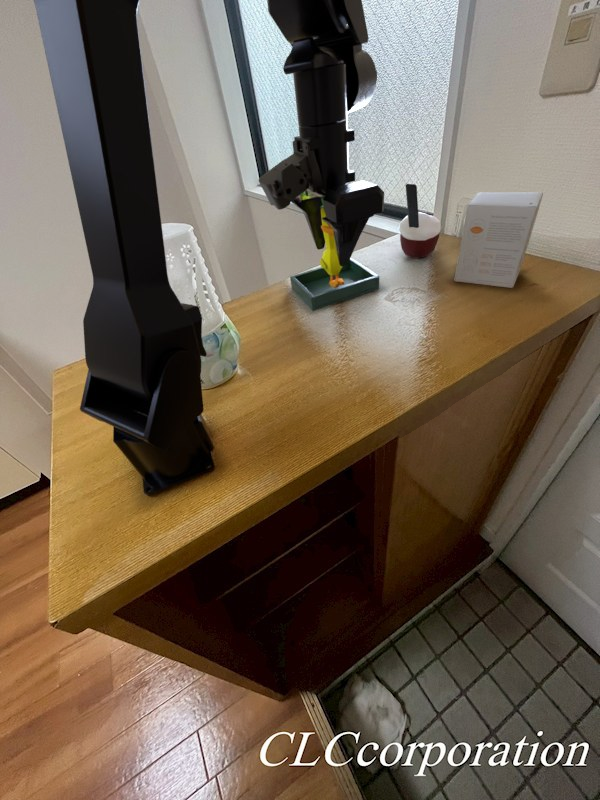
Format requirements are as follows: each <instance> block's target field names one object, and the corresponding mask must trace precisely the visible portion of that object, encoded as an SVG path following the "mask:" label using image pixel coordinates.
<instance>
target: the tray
mask: <svg viewBox="0 0 600 800" xmlns="http://www.w3.org/2000/svg"><path fill="white" fill-rule="evenodd" d="M338 277H339V278H342V279H343V281H344V285H338V287H336V288H335V287H332V286H331V285H330V284H329V282H330V281H331V280H330V275H329V274H328V273H327V272H326V270H325V269H323V268H322V267H321V266H320V267H317V268H314V269H310V270H307V271H303V272H301V273H298V274H294V275H290V276H289V280H290V286H291V290H292V291H293V292H294V293H295V294H296V295H297V296H298V297H299V298H300V299H301V300H302V301H303V303H305V305H307V307H308V308H309V309H310V310H311V312H314V311H317V310H319V309H323V308H326V307H329V306H333V305H336V304H339V303H341V302H344V301H347V300H350V299H353V298H357V297H360V296H362V295H366V294H368V293H372V292H375V291H378V290H380V275H378V274H377V273H375V272H374V271H373V270H371V269H369V267H366V266H365V265H363V264H362V263H361V262H359V261H357V260H356V259H354V258H353V257H351V258H350V260H349V262H348V264H347V265H345V266H343V267H342V269H341V270H340V272H339V273H338ZM335 279H336V275H333V280H335Z"/></svg>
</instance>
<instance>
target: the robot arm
mask: <svg viewBox="0 0 600 800" xmlns="http://www.w3.org/2000/svg"><path fill="white" fill-rule="evenodd" d="M140 1H141V0H33V3H34V7H35V10H36V15H37V21H38V25H39V29H40V35H41V39H42V44H43V48H44V54H45V57H46V62H47V67H48V72H49V76H50V81H51V86H52V90H53V95H54V100H55V106H56V110H57V114H58V120H59V123H60V128H61V133H62V138H63V142H64V146H65V151H66V156H67V161H68V166H69V170H70V175H71V180H72V185H73V189H74V194H75V198H76V199H75V200H76V203H77V208H78V213H79V217H80V221H81V227H82V231H83V237H84V240H85V245H86V250H87V255H88V260H89V264H90V269H91V275H92V282H93V284H92V289H91V293H90V295H89V299H88V302H87V306H86V309H85V313H84V315H83V318H82V319H83V321H82V325H83V340H84V341H83V342H84V356H85V358H84V359H85V364H86V367H87V374H86V377H85V378H86V379H85V384H84V388H83V393H82V397H81V401H80V406H79V410H80V412H81V413H83V414H85V415H87V416H89V417H91V418H93V419H95V420H97V421H99V422H102V423H105V424H107V425H109V426H111V427H113V429H112V434H113V435H112V441H113V443H114V444H115V446H116V447H117V448H118V449H119V450H120V452H121V453H122V454H123V456H124V457H125V458H126V459H127V460H128V462H129V463H130V464H131V465H132V466H133V468H134V469H135V470H136V471H137V473H138V474H139V475H140V476H141V478H142V487H143V494H144V495H145V496H146V497H152V496H155V495H158V494H161V493H163V492H165V491H167V490H170V489H173V488H175V487H178V486H180V485H182V484H183V485H184V484H185V483H188V482H190V481H193V480H195V479H198V478H200V477H202V476H205V475H208V474H210V473H212V472H213V471H215V469H216V464H215V460H214V456H213V453H212V452H214V450H215V445H214V441H213V437H212V434H211V430H210V428H209V426H208V424H207V423H206V420H205V418H204V416H203V412H204V399H203V389H202V388H203V387H202V377H201V374H202V357H204V358H205V357H206V356H207V351H206V348H205V347H204V342H203V336H202V335H203V334H202V333H203V330H202V329H203V316H202V313H201V309H200V307H199V306H197V305H194V304H189V303H183V302H181V301H180V299H179V298H178V296H177V295H176V293H175V291H174V290H173V288H172V286H171V283H170V280H169V275H168V267H167V257H166V249H165V241H164V231H163V225H162V217H161V215H162V214H161V208H160V200H159V192H158V183H157V175H156V168H155V167H156V166H155V158H154V151H153V142H152V134H151V126H150V117H149V116H150V115H149V110H148V101H147V93H146V84H145V75H144V67H143V59H142V53H141V52H142V50H141V42H140V34H139V26H138V25H139V24H138V12H139V11H138V10H139V7H140ZM266 2H267V12H268V14H269V16H270V17H271V19H272V20H273V22H274V24H275V25H276V26H277V28H278V29H279V31H280V33H281V34H282V36H283V37H284V38H285V40H286V42H288V43H289V44H290V45H291V50H290V51H289V54H288V55H287V57H286V59H285V60H284V64H283V67H282V71H283V73H284V74H285V75H292V76H293V86H294V97H295V105H296V106H295V107H296V115H297V123H298V134H299V135H298V136H294V137H293V139H294V140H293V141H292V150H293V153H292V154H290V155H289V156H288V157H286V158H284V159H282V160H281V161H279V163H277V164H275V165H274V166H273V167H272V168H270V169H269V170H268V171H266V172H265V173H264V174H262V175H261V176H260V177H259V179H258V183H259V185H260V187H261V188H262V190H263V193H264V194H265V196H266V198H267V200H268V202H269V205H271V206H274V207H275V208H276V209H277V210H279V211H280V210H284V209H285V208H287V207H289V206H290V205H291V204H292V205H294V206H295V207H297V208H298V209H299V210H301V211H302V213H303V215H304V218H305V221H306V223H307V225H308V228H309V231H310V234H311V236H312V239H313V242H314V244H315V247H316V250H323V249H324V248H325V247H326V243H325V238H324V233H323V230H322V228H321V226H322V219H323V221H325V222H326V223H327V224H328V225H329V226H330V227H332V229H333V232H334V238H335V244H336V250H337V255H338V260H339V264H340V266H345V265H347V264H348V262H349V260H350V258H352V255H353V253H354V251H355V248H356V246H357V244H358V241H359V240H360V237H361V235H362V233H363V231H364V230H365V227H366V225H367V223H368V221H369V219H370V218H373V217H374V216H375V215H377V214H381V213H383V212H384V210H385V209H384V207H385V191H384V190H383V189H382V188H381V187H380V186H379V185H378V184H375V183H372V182H369V181H366V180H359V181H356V171H355V170H351V169H349V167H350V166H349V143H351V142H355V140H356V139H355V129H349V128H348V114H349V113H352V112H355V111H357V110H359V109H362V108H363V107H365V106H366V105H367V104H368V103H369V102H370V101H371V99H372V98H373V96H374V94H375V92H376V88H377V83H378V71H377V68H376V64H375V61H374V60H373V57H372V56H371V54H370V53H368V52H367V51H365V50H364V49H363V45H367V44H368V43H369V32H368V27H367V22H366V16H365V11H364V5H363V0H266ZM321 198H324V199H323V203H322V200H321ZM321 206H323V207H324V211H325V214H326V217H324V218H321V208H320V207H321Z"/></svg>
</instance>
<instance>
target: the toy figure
mask: <svg viewBox="0 0 600 800" xmlns="http://www.w3.org/2000/svg"><path fill="white" fill-rule="evenodd" d="M323 199H324V198H321V200H322V203H323ZM320 208H321V218H324V217H326V214H325V211H324V207H323V206H321V207H320ZM321 228H322V230H323V233H324V238H325V247H326V248H325V250H322V251H323V252H322V256H321V258H322V259H319V264H320V267H322V268H323V269H325V270H326V272H327V273H328V274H329V275H330V280H331V281H330V282H329V284H330V285H331V286H332V287H335V288H336V287H338V285H344V281H343V279H342V278H339V277H338V273H339V272H340V270H341V269H342V267H343V266H340V264H339V260H338V255H337V250H336V244H335V238H334V232H333V229H332V227H330V226H329V225H328V224H327V223H326V222H325V221H323V219H322V226H321ZM333 275H336V279H335V280H333Z"/></svg>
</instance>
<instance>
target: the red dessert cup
mask: <svg viewBox="0 0 600 800" xmlns="http://www.w3.org/2000/svg"><path fill="white" fill-rule="evenodd" d="M405 197H406V207H407V208H406V209H407V215H406V216H405V217H403V219H402V220H401V221H400V222H399V226H398V232H399V233H400V234H399V241H400V246H401V250H402V251H403V254H404V255H406V256H407V257H409V258H410V259H412V258H413V259H423V258H426V257H427V256H430V254H432V253H433V252H434V251H435V248H436V246H437V244H438V241H439V239H440V233H441V230H442V224H441V222H440V221H439V219H438V218H437V217H436V216H434V215H431V214H428V213H426V212H421V211H419V204H418V201H419V199H418V186H417V185H416V184H415V183H406V184H405Z"/></svg>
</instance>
